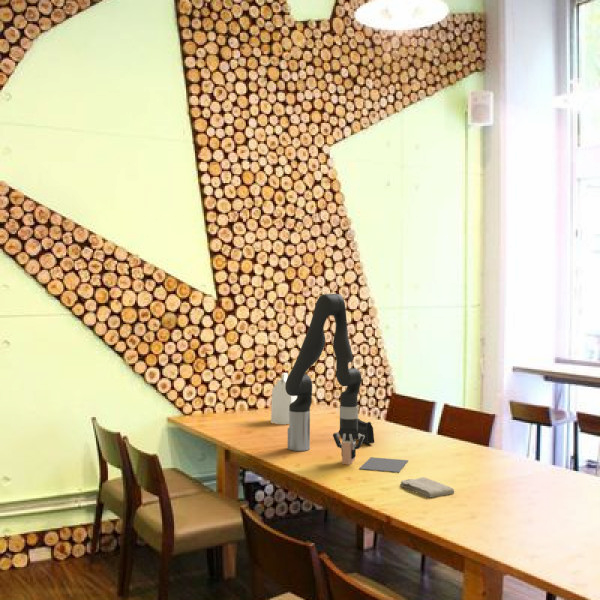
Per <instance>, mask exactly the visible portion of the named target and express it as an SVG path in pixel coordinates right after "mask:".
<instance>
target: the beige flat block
mask: <svg viewBox="0 0 600 600" xmlns="http://www.w3.org/2000/svg"><path fill="white" fill-rule="evenodd" d="M341 444H342V449H341V464H342V465H344V464H347V466H350V465H351V464H352V463H353V462H354V461H356V457H355V458H354V459H351V450H352V447H351V441H343V442H342V441H341Z"/></svg>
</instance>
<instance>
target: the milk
mask: <svg viewBox="0 0 600 600" xmlns="http://www.w3.org/2000/svg"><path fill="white" fill-rule="evenodd" d="M288 376H289V373H288V372H284V373H281V378H280V379H278V380H277V382H276V384H275V385H274V386H273V388H272V391H271V411H270V412H271V413H270V414H271V416H270V424H271V423H275V424H274V425H286V424H289V405H290V404H291V403H292V402H294V401H295V400H296V399H297V396H290V395H288V394H287V392H286V389H285V384H286V380H287V378H288Z"/></svg>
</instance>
